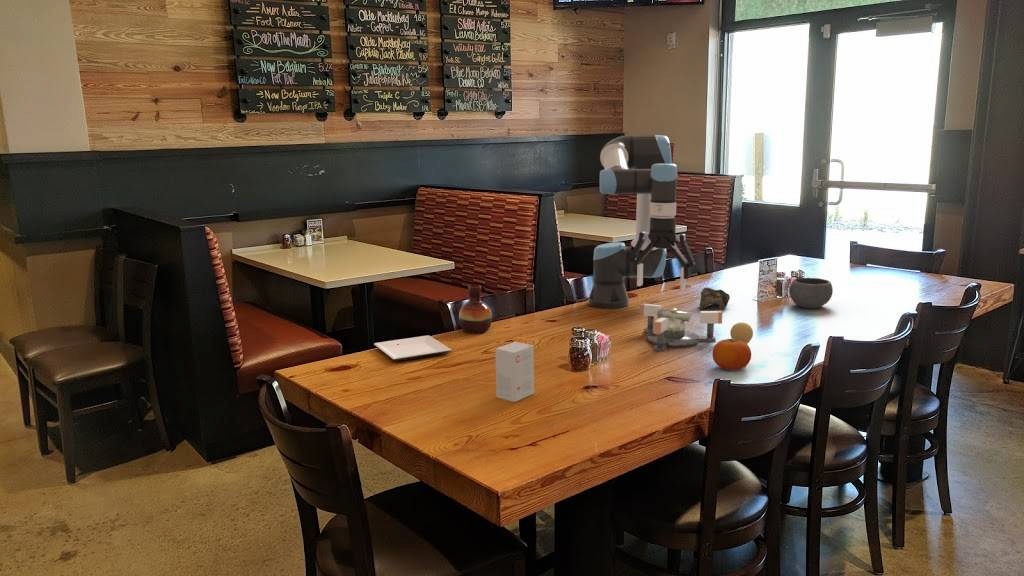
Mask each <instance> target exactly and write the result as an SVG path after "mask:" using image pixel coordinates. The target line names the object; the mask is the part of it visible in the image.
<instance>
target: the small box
mask: <svg viewBox="0 0 1024 576" xmlns="http://www.w3.org/2000/svg"><path fill="white" fill-rule="evenodd" d="M494 350H495V351H494V352H495V353H494V354H495V392H496V398H498V399H501V400H505V401H508V402H513V403H516V402H518V401H520V400H523V399H525V398H527V397H529V396H531V395H535V369H534V367H535V366H534V365H535V363H534V362H535V360H534V358H535V356H534V345H532V344H528V343H525V342H524V343H523V342H519V341H513V342H510V343H508V344H505V345H502V346H499V347H495V348H494Z"/></svg>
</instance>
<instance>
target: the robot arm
mask: <svg viewBox="0 0 1024 576" xmlns="http://www.w3.org/2000/svg"><path fill="white" fill-rule="evenodd" d="M672 159H673V158H672V151H671V143H670V140H669V137H668V136H667V135H658V134H643V135H640V134H639V135H630V134H629V135H620V136H618V137H616V138H613V139H611V140H610V141H608V142H607V143H606V144H605V145H604V146H603V147H602V149H601V151H600V155H599V160H600V163H601V166H602V167H603V168H604V169H602V170H600V171H599V192H600V194H602V195H610V196H612V195H636V213H635V215H636V216H635V238H634V239H632V241H631V242H630V246H626V244H625V243H624V242H622V241H619V242H618V241H615V242H607V243H601V244H599V245H597V246H596V247H594V250H593V258H592V260H593V284H592V286H591V287H592V288H591V291H590V293H589V296H588V305H589V306H591V307H593V308H597V309H599V308H600V309H621V308H625V307H626V308H627V307H628V306H629V305H630V303H629V301H630V299H629V295H628V292H627V289H626V286H625V278H636V286H637V287H641V286H643V285H644V284H643V283H644V278H646V279H647V278H648V279H652V278H660V277H661V276H662V275H664V274H663V273H664V272H665V267H666V263H667V249H669V251H671V253H672V254H673V255H674V256H675V257H676V259H677V260H678V262H679V264H680V265H681V266H682V267H681V268H680V284H679V285H680V288H679V290H680V291H685V290H686V289H687V280H688V279H689V278H690V268H692V267H695V266H696V265H697V262H696V259H695V257H694V255H693V253H692V250H691V248H690V246H689V244H688V240H687V234H686V233H682V234H677V232H676V227H677V218H676V215H677V188H678V187H677V186H678V185H677V184H678V175H679V174H678V167H677V164H675V163H673V161H672ZM675 241H677V242H678V243H679V245H680V247H681V248H682V252H683V253H682V252H681V251H680V249H679V248H678V245H677V243H675Z"/></svg>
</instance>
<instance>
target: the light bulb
mask: <svg viewBox="0 0 1024 576" xmlns="http://www.w3.org/2000/svg"><path fill="white" fill-rule="evenodd" d="M753 336H754V330H753V328H752V326H751V325H750V324H749V323H746V322H737V323H734V324H733V325H732V326H731V329H730V337H731V338H730V339H737V340H740V341H743V342H745V343H746V344H747V345H748V344H749V343H750V341H751V340H752V339H753Z"/></svg>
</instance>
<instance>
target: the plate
mask: <svg viewBox="0 0 1024 576" xmlns="http://www.w3.org/2000/svg"><path fill="white" fill-rule="evenodd" d="M397 344H399V345H397ZM373 345H374V346H375V347H376V348H377V349H379V350H380V351H382V352H383V353H384V354H385V355H386V356H388V357H389V358H390V359H392V360H393V361H398V362H400V361H407V360H412V359H419V358H426V357H431V356H437V355H443V354H446V353H449V352H452V351H453V349H451V348H450V347H449V346H447V345H445V344H443V343H442V342H441V341H439V340H437V339H435V338H434V337H432V336H431V335H429V334H428V335H421V336H414V337H409V338H408V337H407V338H401V339H393V340H387V341H381V342H375V343H373Z"/></svg>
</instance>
